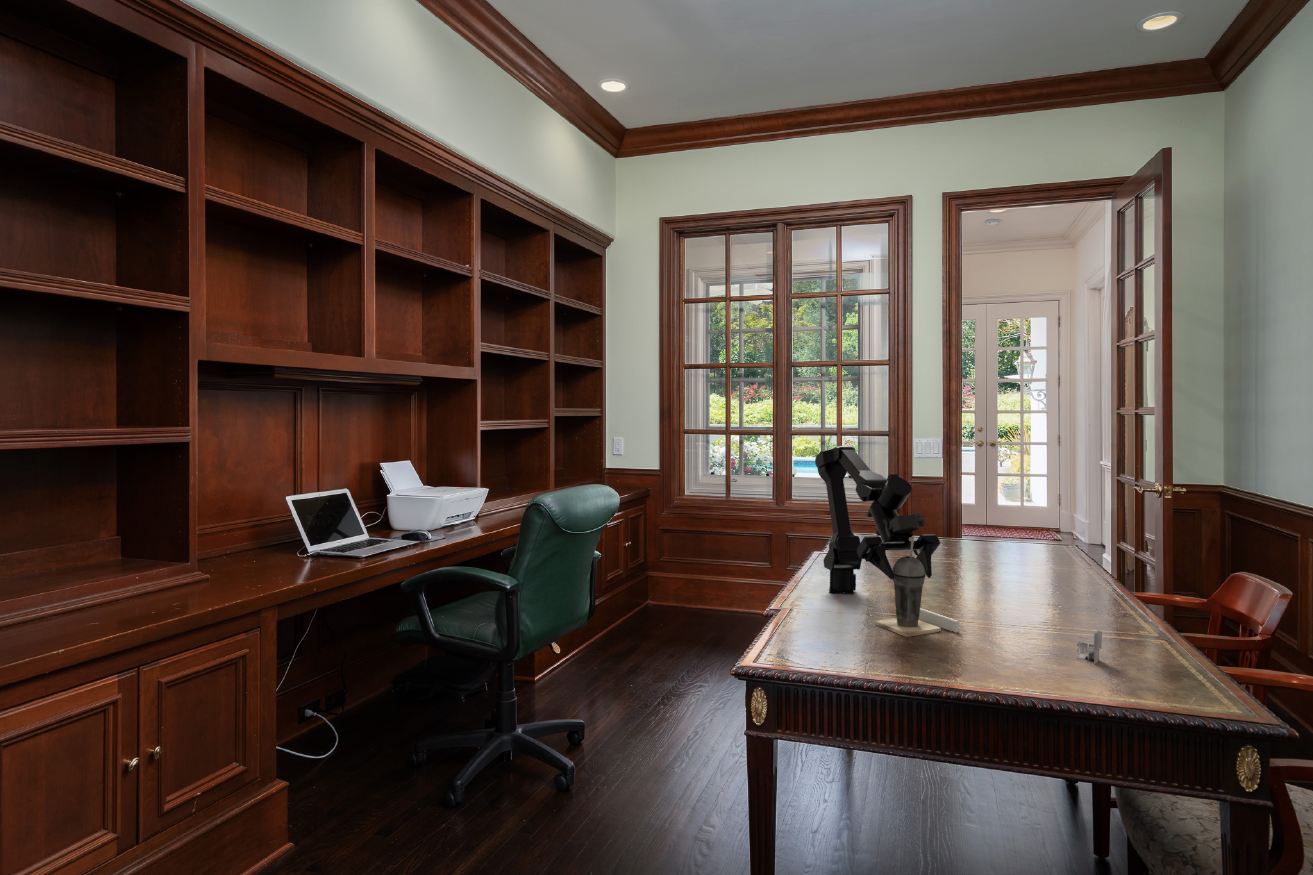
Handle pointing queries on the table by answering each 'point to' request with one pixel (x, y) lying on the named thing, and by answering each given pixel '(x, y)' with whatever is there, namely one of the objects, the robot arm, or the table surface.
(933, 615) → the divider wall
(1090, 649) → the architectural model
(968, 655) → the table surface
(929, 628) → the coaster
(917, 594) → the beverage cup
